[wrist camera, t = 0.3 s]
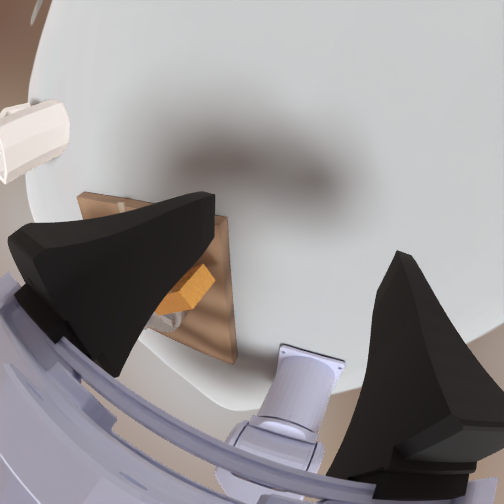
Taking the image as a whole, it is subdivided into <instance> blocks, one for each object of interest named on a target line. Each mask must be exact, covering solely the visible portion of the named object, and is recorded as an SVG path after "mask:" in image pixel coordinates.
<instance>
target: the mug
mask: <svg viewBox="0 0 504 504" xmlns="http://www.w3.org/2000/svg"><path fill="white" fill-rule="evenodd" d="M69 128H70V121H69V118H68V116H67V113H66V110H65V108H64V105H63V103H62V102H59V101H56V100H53V99H50V100H47V101H44V102H41V103H39V104H36V105H33V106H30V103H25V104H21V105H17V106H12V107H8V108H4V109H3V110H2V112H1V113H0V180H1V181H2V182H3V183H5V184H7V183H9V182H11V181H12V180H14V179H16V178H17V177H19V176H21V175H22V174H24V173H26V172H28V171H30V170H31V169H33V168H35V167H37V166H39V165H41V164H43V163H45V162H47V161H49V160H51V159H53V158H55V157H57V156H59V155H61V154H63V152H64V151H65V149H66V147H67V145H68V144H69Z"/></svg>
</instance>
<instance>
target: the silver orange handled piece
mask: <svg viewBox="0 0 504 504" xmlns="http://www.w3.org/2000/svg"><path fill="white" fill-rule="evenodd" d="M215 281H216V280H215V279H214V277H213V276H212V275H211V273H210V272H209V271H208V269H207V268H206V267H205V265H204V264H201V265H198V266H196V267H193V268H191V269H189V270H188V272H187V273H186V274H185V275H184V276H183V277H182V278H181V279H180V280H179V281H178V282H177V284H176V285H175V286H174V287H173V288H172V289H171V290H170V291H169V293H168V294H167V295H166V296H165V297H164V299H163V300H162V302H161V303H160V304H159V306H158V307H157V309H156V310H155V312H154V313H153V314H152V316H151V318H150V319H149V321H148V322H147V324H146V326H145V327H144V330H146V329H147V328H148V327H151V328H153V329H155V330H158V331H162V332H173V331H175V330H176V329H177V328H178V327H179V325H180V324H181V323H182V321H183V320H184V319H185V318H186V316H187V313H188V310H191V309H194V307H195V306H196V305H197V303H198V302H199V301H200V300H201V298H202V297H203V296H204V295H205V293H206V292H207V291H208V289H209V288H210V287H211V286H212V284H213V283H214V282H215Z"/></svg>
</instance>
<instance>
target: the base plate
mask: <svg viewBox="0 0 504 504" xmlns="http://www.w3.org/2000/svg"><path fill="white" fill-rule="evenodd" d="M77 200H78V204H79V207H80V210H81V214H82V217H83V220H85V219H91V218H97V217H104V216H109V215H113V214H118V213H122V212H126V211H130V210H134V209H138V208H141V207H145V206H148V205H152V204H155V203H149V202H143V201H138V200H132V199H126V198H120V197H114V196H108V195H102V194H95V193H89V192H84V193H82V194H80V195H79V196H77ZM201 264H204V265H205V267H206V268H207V269H208V271H209V272H210V273H211V275H212V276H213V277H214V279H215V280H216V281H215V282H214V283H213V284H212V286H211V287H210V288H209V289H208V291H207V292H206V293H205V295H204V296H203V297H202V298H201V300H200V301H199V302H198V303H197V305H196V306H195V307H194V309H191V310H188V313H187V316H186V318H185V319H184V320H183V321H182V323H181V324H180V325H179V327H178V328H177V329H176V330H175V331H173V332H162V331H158V330H155V329H153V328H151V327H148V328H150V329H152V330H154V331H156V332H159V333H161V334H163V335H165V336H167V337H169V338H171V339H173V340H175V341H177V342H180V343H182V344H184V345H186V346H188V347H191V348H193V349H195V350H198V351H200V352H202V353H205V354H207V355H209V356H212V357H214V358H217V359H219V360H222V361H224V362H227V363H229V364H232V365H233V364H234V362H235V361H236V359H237V357H238V356H237V344H236V333H235V321H234V309H233V296H232V282H231V269H230V254H229V239H228V222H227V217H223V216H218V215H215V237H214V239H213V240H212V242H211V243H210V245H209V246H208V248H207V249H206V251H205V252H204V253H203V255H202V256H201V257H200V258H199V259H198V261H197V262H196V263H195V264H194V265H193V266H192V267H191V268H193V267H196V266H198V265H201ZM191 268H190V269H191Z"/></svg>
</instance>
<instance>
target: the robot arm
mask: <svg viewBox="0 0 504 504" xmlns="http://www.w3.org/2000/svg"><path fill="white" fill-rule="evenodd" d="M214 237H215V195H214V194H210V193H206V192H195V193H190V194H186V195H183V196H179V197H176V198H172V199H169V200H165V201H162V202H159V203H155V204H152V205H148V206H145V207H141V208H138V209H134V210H130V211H126V212H122V213H118V214H113V215H109V216H104V217H97V218H91V219H85V220H78V221H69V222H55V223H29V224H26V225H24V226H22V227H21V228H20V229H18V230H17V231H16V232H14V233H13V234H12V235H10V236H9V237H8V246H9V249H10V252H11V254H12V257H13V259H14V261H15V263H16V265H17V267H18V269H19V271H20V273H21V275H22V277H23V279H24V281H25V283H26V284H25V285H24V286H22V287H21V286H20V285H19V283H18V282H17V280H16V279H15V278H14V277H13V275H12V274H11V273H10V272H7V273H6V274H5V275H4V276H3V277H2V278H1V279H0V504H493V502H494V497H495V492H496V486H497V480H498V478H497V477H491V478H485V479H477V480H472V481H468V478H469V474H470V473H473V472H475V470H476V464H477V461H479V460H481V459H483V458H485V457H487V456H489V455H491V454H493V453H495V452H497V451H499V450H501V449H503V448H504V392H503V390H502V389H501V388H500V387H499V386H498V385H497V384H496V383H495V381H494V380H493V379H492V378H491V377H490V376H489V374H488V373H487V372H486V371H485V369H484V368H483V367H482V365H481V364H480V363H479V362H478V360H477V359H476V357H475V356H474V355H473V354H472V352H471V351H470V349H469V348H468V347H467V345H466V344H465V342H464V341H463V339H462V338H461V336H460V335H459V333H458V332H457V330H456V329H455V327H454V326H453V324H452V323H451V321H450V320H449V318H448V316H447V315H446V313H445V311H444V309H443V308H442V306H441V305H440V303H439V301H438V299H437V298H436V296H435V294H434V292H433V291H432V289H431V287H430V285H429V284H428V282H427V280H426V278H425V276H424V275H423V273H422V271H421V269H420V268H419V266H418V264H417V263H416V261H415V260H414V258H413V257H412V256H411V255H409V254H406V253H403V252H401V251H398V250H397V251H396V253H395V256H394V258H393V260H392V262H391V264H390V266H389V268H388V270H387V272H386V274H385V276H384V278H383V280H382V282H381V284H380V286H379V288H378V290H377V294H376V299H375V304H374V309H373V315H372V326H371V336H370V346H369V354H368V362H367V368H366V374H365V378H364V382H363V385H362V389H361V392H360V396H359V399H358V402H357V405H356V408H355V411H354V414H353V417H352V419H351V423H350V425H349V427H348V430H347V432H346V435H345V437H344V439H343V442H342V444H341V446H340V448H339V450H338V453H337V454H336V456H335V458H334V461H333V463H332V464H331V467H330V468H329V470H328V472H327V474H326V476H323V475H320V474H317V472H318V470H319V467H320V465H321V462H322V459H323V456H324V452H325V448H324V446H323V443H321V442H317V439H318V436H319V434H318V431H319V428H320V425H321V422H322V419H323V416H324V413H325V410H326V407H327V404H328V401H329V398H330V394H331V391H332V389H333V388H334V386H335V384H336V382H337V381H338V379H339V377H340V375H341V373H342V372H343V370H344V368H345V365H346V363H345V362H343V361H339V360H335V359H331V358H328V357H324V356H320V355H317V354H313V353H309V352H306V351H302V350H299V349H296V348H292V347H289V346H286V345H282V346H281V347H280V351H279V358H278V365H277V372H276V376H275V378H274V380H273V382H272V385H271V387H270V389H269V391H268V393H267V395H266V398H265V400H264V402H263V404H262V406H261V408H260V410H259V412H258V414H257V416H255V415H253V416H252V418H251V420H250V421H247V420H244V421H242V422H241V423H238V424H237V425H236V426H235V427H234V428H233V429H232V431H231V432H230V434H229V436H228V438H227V440H226V441H225V442H223V441H221V440H218V439H216V438H214V437H212V436H210V435H208V434H206V433H204V432H202V431H200V430H198V429H195V428H194V427H192V426H190V425H188V424H186V423H184V422H182V421H181V420H179V419H177V418H175V417H173V416H172V415H170V414H168V413H166V412H165V411H163V410H161V409H160V408H158V407H156V406H155V405H153V404H152V403H150V402H148V401H147V400H145V399H144V398H142V397H141V396H139V395H138V394H136V393H135V392H133V391H132V390H130V389H129V388H127V387H126V386H124V385H123V384H122V383H120V382H119V381H118V380H116V379H115V377H118V376H119V375H120V373H121V370H122V368H123V366H124V364H125V362H126V360H127V358H128V356H129V354H130V352H131V350H132V348H133V346H134V344H135V343H136V341H137V339H138V337H139V335H140V334H141V332H142V330H143V329H144V327H145V326H146V324H147V322H148V321H149V319H150V318H151V316H152V314H153V313H154V312H155V310H156V309H157V307H158V306H159V304H160V303H161V302H162V300H163V299H164V297H165V296H166V295H167V294H168V293H169V291H170V290H171V289H172V288H173V287H174V286H175V285H176V284H177V282H178V281H179V280H180V279H181V278H182V277H183V276H184V275H185V274H186V273H187V272H188V270H189V269H190V268H191V267H192V266H193V265H194V264H195V263H196V262H197V261H198V259H199V258H200V257H201V256H202V255H203V253H204V252H205V251H206V249H207V248H208V246H209V245H210V243H211V242H212V240H213V239H214ZM81 379H83V380H84V381H85V382H86V383H87V384H88V385H90V386H91V387H92V388H93V389H94V390H95V391H97V392H98V393H99V394H100V395H102V396H103V397H104V398H105V399H107V400H108V401H109V402H110V403H112V404H113V405H114V406H116V407H117V408H118V409H120V410H121V411H123V412H124V413H125V414H127V415H128V416H130V417H131V418H133V419H134V420H135V421H137V422H138V423H140V424H141V425H143V426H144V427H146V428H148V429H149V430H151V431H152V432H154V433H155V434H157V435H159V436H160V437H162V438H164V439H165V440H167V441H169V442H170V443H172V444H174V445H176V446H178V447H180V448H181V449H183V450H185V451H187V452H189V453H191V454H193V455H195V456H197V457H199V458H201V459H203V460H205V461H207V462H209V463H211V464H213V465H216V468H215V471H216V472H215V477H216V479H217V481H218V482H219V484H220V486H221V487H222V489H223V490H224V492H225V493H226V495H227V496H226V495H224V494H221V493H219V492H216V491H214V490H212V489H210V488H208V487H206V486H203V485H201V484H199V483H197V482H195V481H193V480H191V479H189V478H187V477H185V476H183V475H181V474H179V473H177V472H176V471H174V470H172V469H170V468H169V467H167V466H165V465H163V464H161V463H160V462H158V461H156V460H155V459H153V458H152V457H150V456H148V455H147V454H145V453H144V452H142V451H141V450H139V449H138V448H136V447H134V446H133V445H132V444H130V443H129V442H127V441H126V440H124V439H123V438H122V437H120V436H119V435H118V434H116V433H115V432H114V431H112V429H111V428H112V427H113V425H114V424H115V422H116V421H117V417H116V416H114V415H113V414H112V413H111V412H110V411H108V410H107V409H106V408H105V407H104V406H103V405H102V404H101V403H100V402H99V401H97V399H96V398H95V397H94V396H93V395H92V394H91V393H90V392H89V391H88V390H86V389H85V388H84V387H83V386H82V385H81ZM316 442H317V443H316ZM315 444H316V445H315ZM304 496H306V497H311V498H315V499H320V500H321V501H318V502H317V503H312V502H307V501H302V500H303V498H304Z"/></svg>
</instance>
